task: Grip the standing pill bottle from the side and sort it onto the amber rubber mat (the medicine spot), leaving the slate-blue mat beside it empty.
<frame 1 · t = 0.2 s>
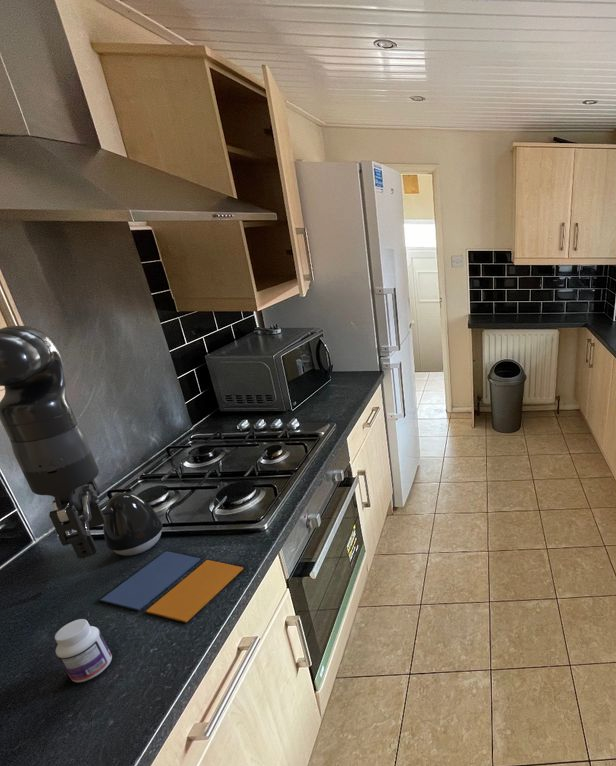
hand: (93, 539, 70), 24 cm above the worktop, tool pointing down, fingers open, 8 cm apart
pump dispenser: (140, 547, 101), on the worktop
pill bottle: (92, 668, 74), on the worktop
amber mat: (198, 589, 90), on the worktop
slate mat: (153, 579, 92), on the worktop
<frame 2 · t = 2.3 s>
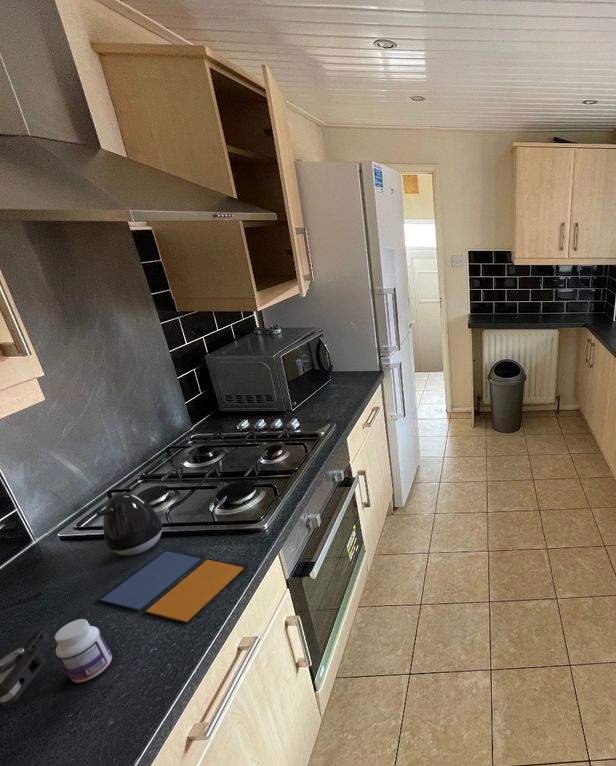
nothing on the worktop moved.
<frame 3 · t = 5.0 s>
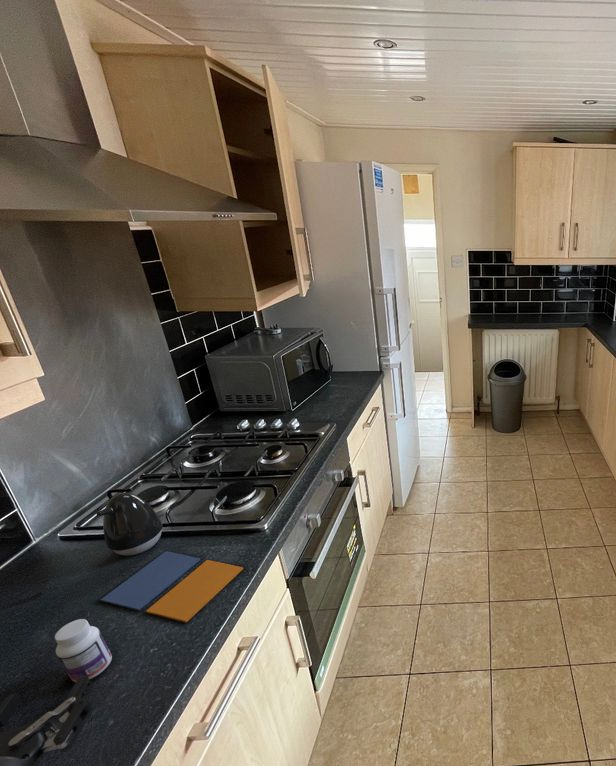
hand: (51, 687, 65), 6 cm above the worktop, tool horizontal, fingers open, 8 cm apart
nothing on the worktop moved.
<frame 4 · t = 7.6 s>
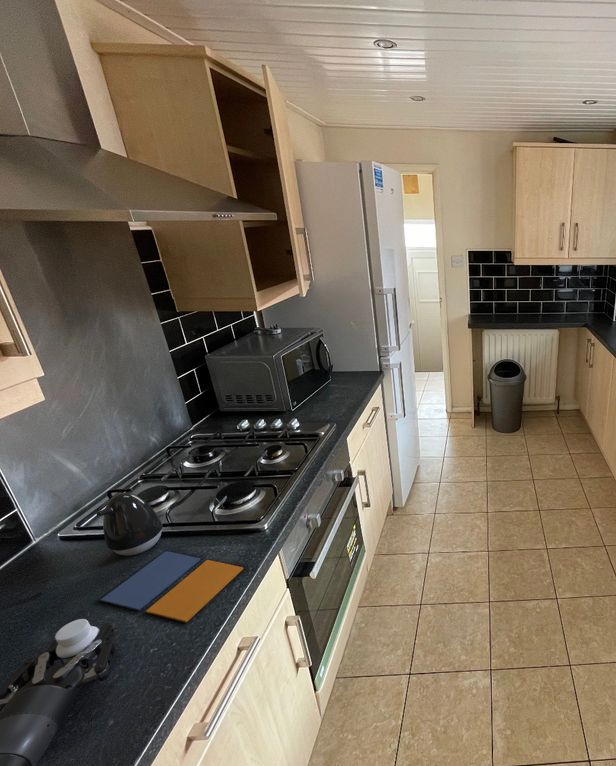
hand: (87, 631, 74), 6 cm above the worktop, tool horizontal, fingers closed on pill bottle, 5 cm apart
pill bottle: (92, 668, 74), on the worktop, touching gripper
everything else where it was.
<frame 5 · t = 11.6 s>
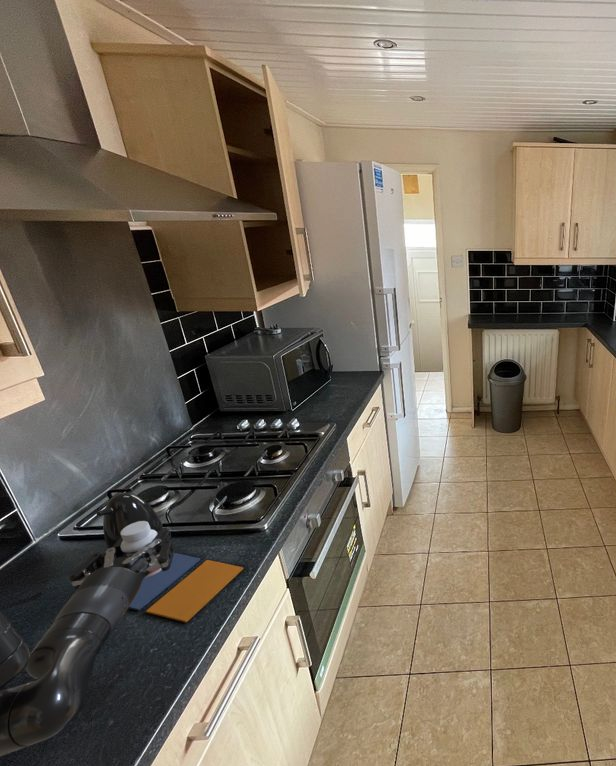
hand: (146, 534, 80), 18 cm above the worktop, tool horizontal, fingers closed on pill bottle, 5 cm apart
pill bottle: (150, 569, 80), point 11 cm above the worktop, touching gripper
everything else where it was.
when the fingers open (7 cm above the worktop, at t = 15.9 s): pill bottle stays where it is, resting on amber mat.
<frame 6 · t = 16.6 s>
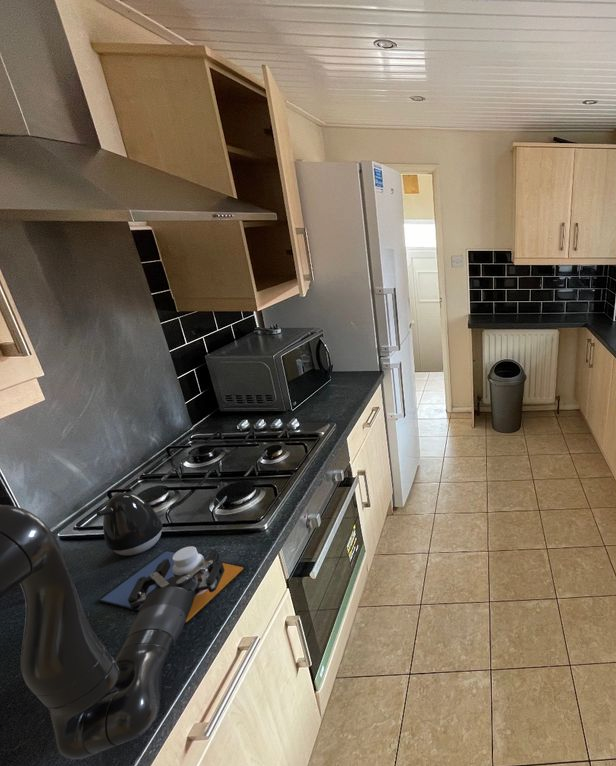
hand: (191, 557, 89), 7 cm above the worktop, tool horizontal, fingers open, 8 cm apart
pill bottle: (197, 588, 89), resting on amber mat
everything else where it was.
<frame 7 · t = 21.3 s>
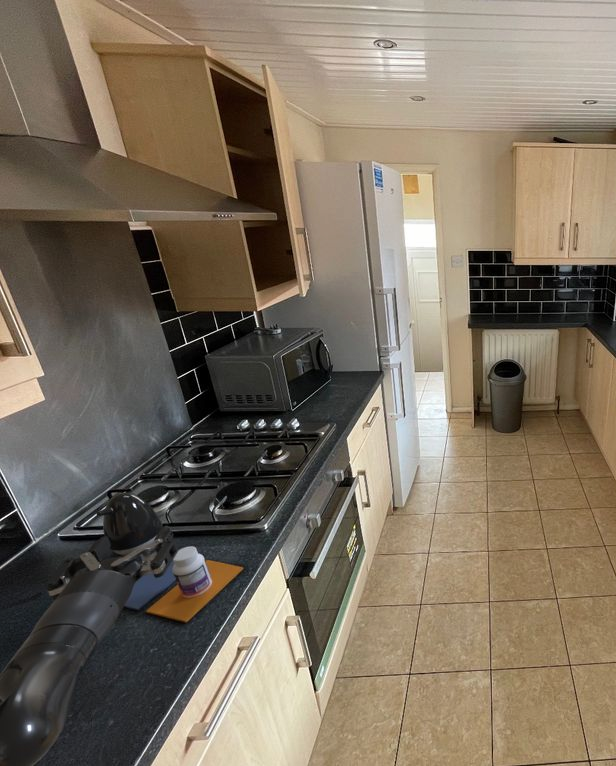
hand: (137, 535, 71), 24 cm above the worktop, tool horizontal, fingers open, 8 cm apart
nothing on the worktop moved.
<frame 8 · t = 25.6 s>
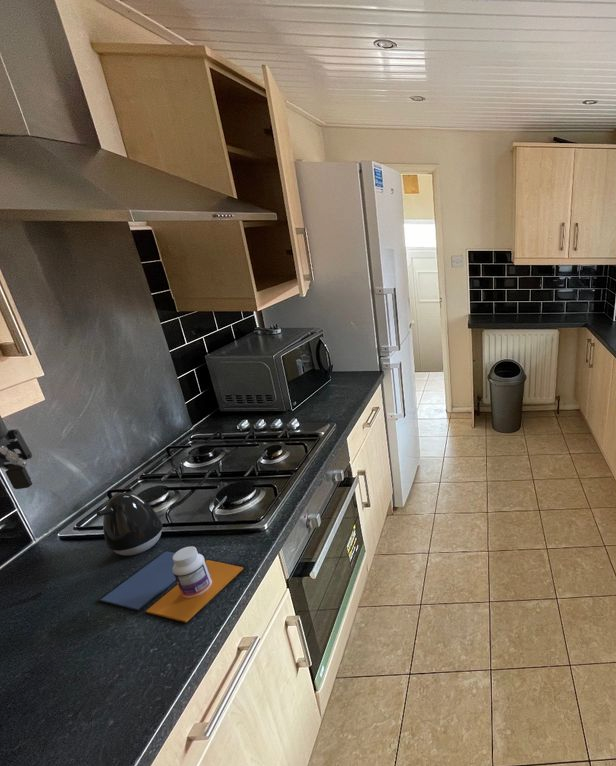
hand: (6, 502, 70), 30 cm above the worktop, tool pointing down, fingers open, 8 cm apart
nothing on the worktop moved.
at the end: pill bottle inside the target area on the amber mat (0.1 cm from its centre), point 0.3 cm above the amber mat's base; pill bottle tilted 0°; the gripper is holding nothing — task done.
